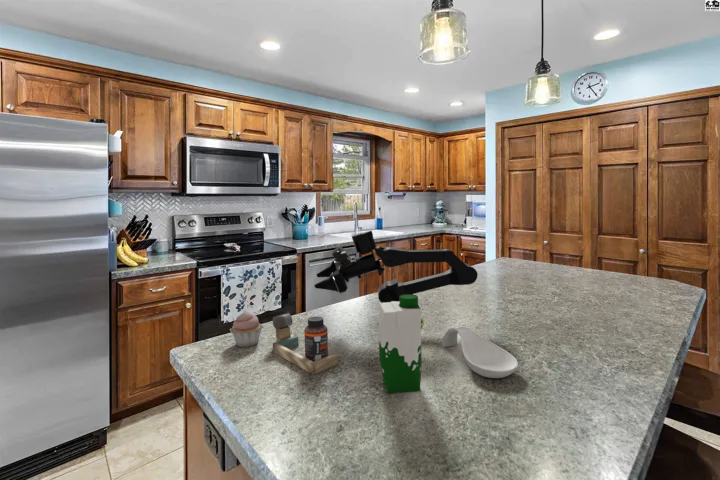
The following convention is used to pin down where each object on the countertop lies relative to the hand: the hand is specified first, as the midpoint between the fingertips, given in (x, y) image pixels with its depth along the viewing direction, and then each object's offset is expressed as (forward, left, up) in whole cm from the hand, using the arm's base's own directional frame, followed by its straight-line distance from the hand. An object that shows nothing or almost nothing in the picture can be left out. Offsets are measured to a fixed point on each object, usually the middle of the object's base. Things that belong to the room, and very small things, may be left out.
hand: (315, 280), depth 120 cm
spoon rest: (-47, +23, -16) cm, 54 cm away
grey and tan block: (+6, +15, -15) cm, 22 cm away
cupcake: (+17, +16, -16) cm, 28 cm away
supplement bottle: (-7, +25, -16) cm, 31 cm away
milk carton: (-29, +36, -16) cm, 48 cm away
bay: (-3, +24, -15) cm, 29 cm away
